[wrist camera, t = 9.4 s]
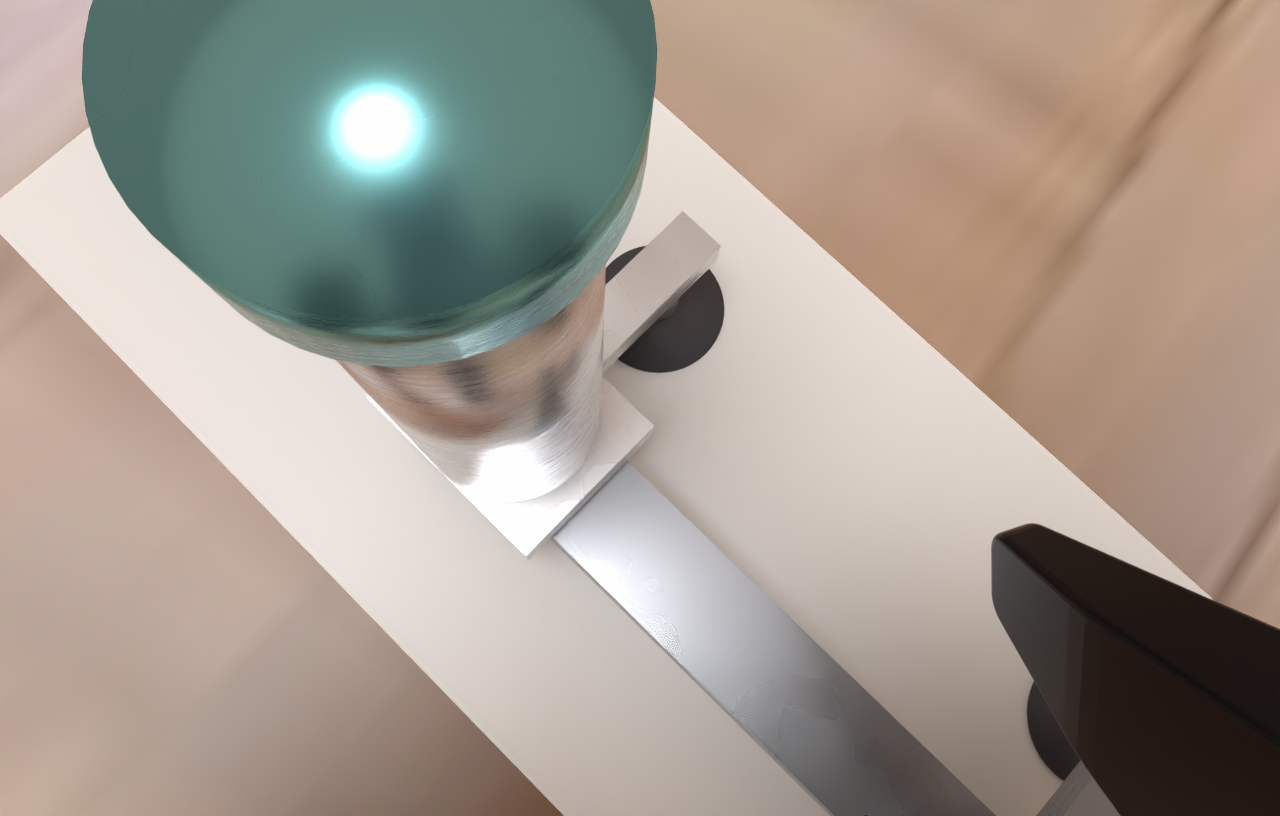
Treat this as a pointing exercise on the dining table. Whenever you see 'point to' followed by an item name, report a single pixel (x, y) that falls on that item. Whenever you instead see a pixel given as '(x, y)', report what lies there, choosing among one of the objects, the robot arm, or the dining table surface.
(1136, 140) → the dining table surface
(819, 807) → the bolt plate
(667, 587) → the rail
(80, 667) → the dining table surface
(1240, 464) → the dining table surface
